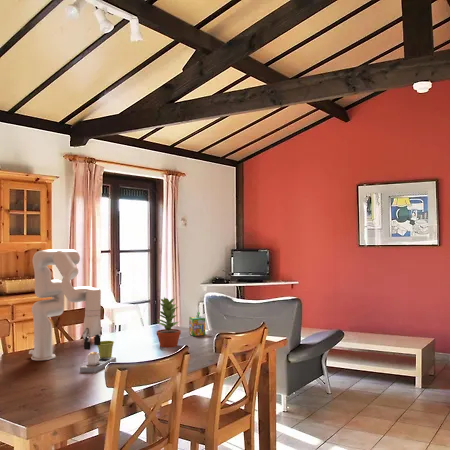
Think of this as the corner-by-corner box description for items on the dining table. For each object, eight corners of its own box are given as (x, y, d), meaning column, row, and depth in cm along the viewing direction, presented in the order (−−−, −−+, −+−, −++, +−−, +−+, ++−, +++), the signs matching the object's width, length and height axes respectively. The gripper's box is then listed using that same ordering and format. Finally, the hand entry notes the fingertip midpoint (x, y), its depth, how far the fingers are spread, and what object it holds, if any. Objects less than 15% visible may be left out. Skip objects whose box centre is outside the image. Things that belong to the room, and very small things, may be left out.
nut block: (87, 370, 258) (87, 353, 258) (92, 368, 262) (91, 351, 262) (95, 371, 257) (94, 353, 257) (99, 368, 261) (98, 351, 261)
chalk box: (188, 334, 349) (188, 311, 349) (202, 333, 352) (201, 311, 352) (192, 336, 340) (191, 313, 340) (205, 335, 343) (205, 313, 343)
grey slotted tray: (80, 372, 255) (79, 367, 255) (102, 361, 276) (102, 356, 276) (94, 373, 252) (94, 368, 252) (116, 362, 274) (115, 357, 274)
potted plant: (183, 343, 320) (182, 294, 320) (178, 348, 304) (177, 297, 305) (159, 343, 321) (158, 294, 322) (153, 348, 306) (152, 297, 306)
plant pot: (96, 361, 277) (96, 344, 277) (96, 357, 286) (96, 341, 286) (114, 359, 280) (114, 343, 280) (113, 355, 289) (113, 340, 289)
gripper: (94, 309, 269) (94, 342, 269) (76, 315, 253) (76, 350, 253) (107, 310, 267) (107, 343, 267) (90, 316, 251) (90, 351, 251)
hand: (92, 347), depth 260 cm, fingers open, 9 cm apart
